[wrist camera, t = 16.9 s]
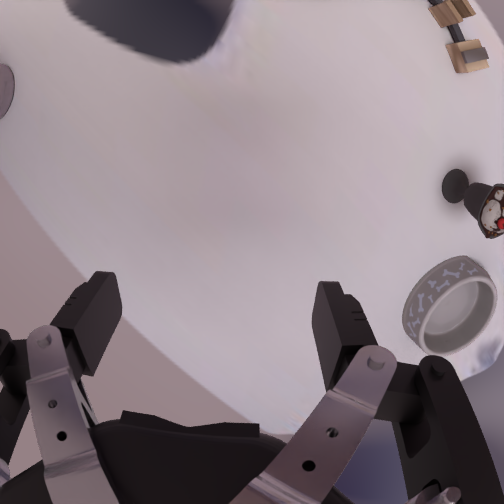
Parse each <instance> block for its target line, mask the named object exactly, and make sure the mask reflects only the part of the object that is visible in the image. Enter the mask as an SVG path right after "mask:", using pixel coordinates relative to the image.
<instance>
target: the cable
mask: <svg viewBox="0 0 504 504" xmlns="http://www.w3.org/2000/svg"><path fill="white" fill-rule="evenodd" d="M429 1H430V2H431V3H432V4H433V5H434V6H435V5H438V4H440V3H443V1H442V0H429ZM448 27H449V29H450V31H451V34H452V36H453V38H454V41H455V43H458V42H464V41H465V39H464V37H463V34H462V32H461V30H460V27H459V25H458V23H456V24H452V25H449V26H448Z"/></svg>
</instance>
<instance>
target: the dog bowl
mask: <svg viewBox="0 0 504 504" xmlns="http://www.w3.org/2000/svg"><path fill="white" fill-rule="evenodd" d="M496 304H497V290H496V287H495V285H494V283H493V281H492V280H491V278H490V276H489V274H488V272H487V271H485V270H484V269H483V268H481V267H480V266H478V265H477V264H476V263H474V262H473V261H472V260H471V259H469V258H468V257H467V256H457V257H453V258H450V259H448V260H446V261H443V262H442V263H440V264H438V265H437V266H435V267H434V268H432V269H431V270H430V271H428V272H427V273H426V274H425V275H424V276H423V277H422V278H421V279H420V280H419V281H418V283H417V284H416V285H415V286H414V288H413V289H412V291H411V293H410V294H409V296H408V298H407V300H406V303H405V306H404V309H403V315H402V323H403V327H404V330H405V332H406V334H407V335H408V336H409V337H410V338H411V339H412V340H413V341H414V342H415V343H416V344H417V345H418V346H419V347H420V348H421V349H422V350H423V351H424V352H425V353H427V354H428V355H437V356H440V357H442V356H448V355H451V354H454V353H456V352H458V351H460V350H462V349H464V348H465V347H467V346H468V345H470V344H471V343H472V342H473V341H474V340H476V339H477V338H478V337H479V336H480V334H481V333H482V332H483V331H484V330H485V328H486V327H487V325H488V324H489V322H490V320H491V318H492V316H493V314H494V311H495V308H496Z"/></svg>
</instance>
